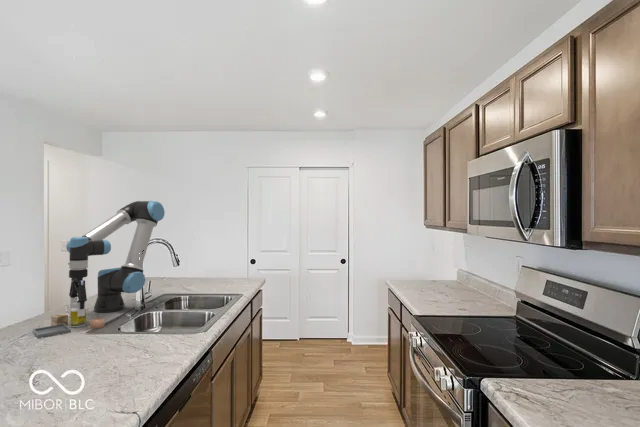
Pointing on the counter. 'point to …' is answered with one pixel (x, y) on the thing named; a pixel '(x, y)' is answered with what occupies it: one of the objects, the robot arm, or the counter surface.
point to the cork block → (59, 319)
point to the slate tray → (51, 330)
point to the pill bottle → (74, 318)
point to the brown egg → (97, 323)
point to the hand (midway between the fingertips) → (77, 313)
